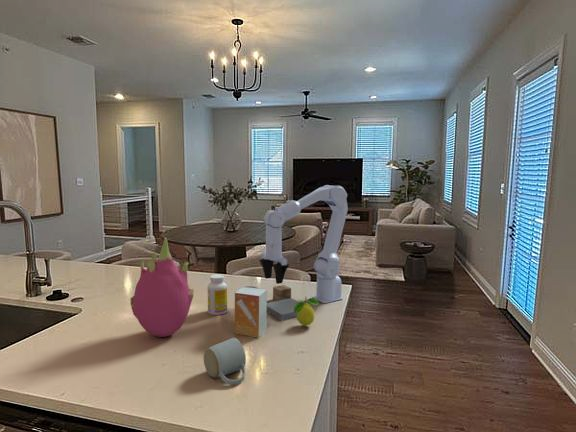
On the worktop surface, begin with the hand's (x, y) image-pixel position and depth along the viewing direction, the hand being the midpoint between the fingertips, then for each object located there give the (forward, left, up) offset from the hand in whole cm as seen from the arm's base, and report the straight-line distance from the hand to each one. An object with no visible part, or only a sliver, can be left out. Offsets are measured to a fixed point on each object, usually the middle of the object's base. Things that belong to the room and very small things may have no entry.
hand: (273, 280), depth 137 cm
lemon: (+1, +21, -10) cm, 23 cm away
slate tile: (-1, +7, -10) cm, 12 cm away
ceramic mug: (+34, +34, -10) cm, 49 cm away
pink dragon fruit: (+41, +4, -10) cm, 42 cm away
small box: (+18, +16, -10) cm, 26 cm away
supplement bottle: (+20, -5, -10) cm, 23 cm away
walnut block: (-6, -4, -10) cm, 12 cm away
